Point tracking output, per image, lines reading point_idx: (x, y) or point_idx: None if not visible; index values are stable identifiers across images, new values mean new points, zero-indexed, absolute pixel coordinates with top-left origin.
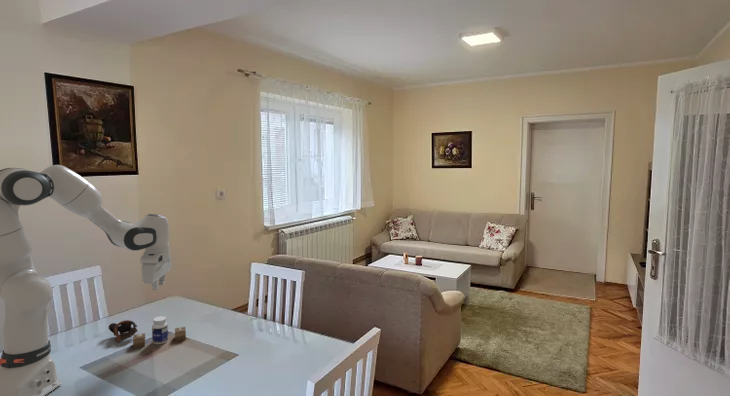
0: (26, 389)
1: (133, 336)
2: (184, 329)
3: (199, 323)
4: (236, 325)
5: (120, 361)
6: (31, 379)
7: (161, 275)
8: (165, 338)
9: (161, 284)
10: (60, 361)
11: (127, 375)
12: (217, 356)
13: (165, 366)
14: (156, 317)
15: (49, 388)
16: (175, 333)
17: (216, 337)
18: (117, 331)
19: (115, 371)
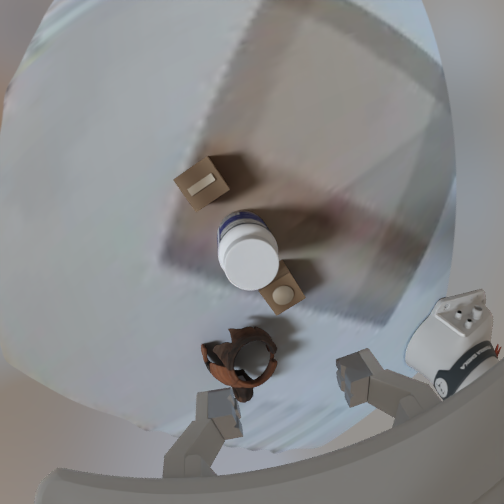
0: (482, 312)
1: (288, 308)
2: (199, 166)
3: (82, 189)
4: (79, 57)
5: (366, 263)
6: (483, 319)
7: (370, 453)
8: (249, 213)
9: (235, 398)
10: None
11: (420, 201)
12: (305, 11)
13: (381, 127)
14: (244, 286)
15: (453, 303)
16: (228, 187)
17: (176, 61)
18: (274, 364)
19: (406, 240)
